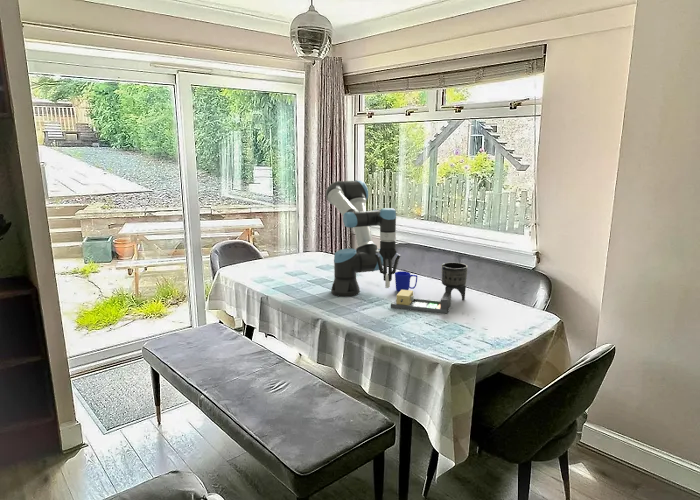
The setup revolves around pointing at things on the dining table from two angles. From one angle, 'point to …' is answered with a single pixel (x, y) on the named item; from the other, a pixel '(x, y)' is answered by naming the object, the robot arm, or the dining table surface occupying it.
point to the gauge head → (405, 297)
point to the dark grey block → (446, 301)
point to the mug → (403, 280)
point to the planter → (454, 277)
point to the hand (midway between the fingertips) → (387, 287)
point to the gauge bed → (422, 306)
